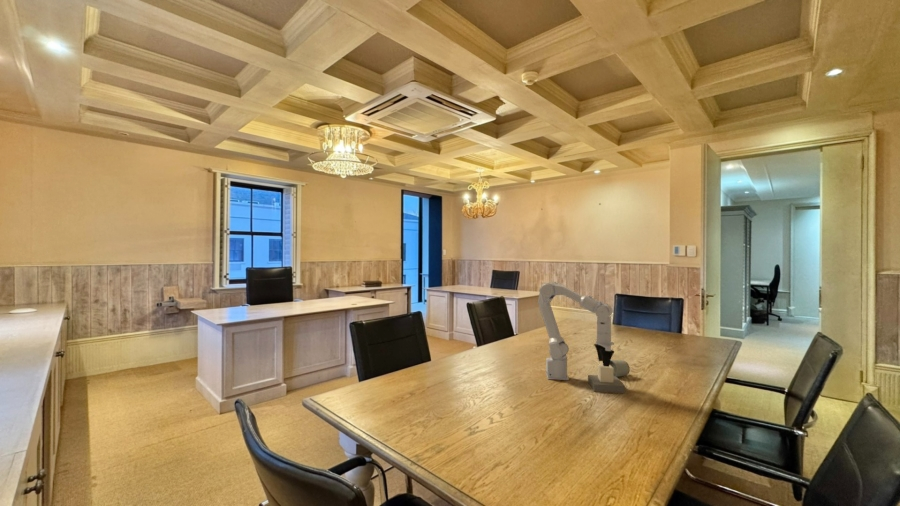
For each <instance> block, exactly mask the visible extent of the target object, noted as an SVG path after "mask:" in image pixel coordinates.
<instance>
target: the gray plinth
mask: <svg viewBox="0 0 900 506" xmlns="http://www.w3.org/2000/svg"><path fill="white" fill-rule="evenodd" d="M588 382H589V383H588ZM587 383H588V384H589V386H590V385H591V386H590V387H591V389H592V390H593V392H596V393H612V394H613V393H614V394H625V393H626V386H625V384H624V383H623V382H622V381H621V379H619V378H618V377H616V376H613V382H601V381H600V380H599V378H598V374H595V375H594V374H587Z"/></svg>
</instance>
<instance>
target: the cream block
mask: <svg viewBox="0 0 900 506" xmlns="http://www.w3.org/2000/svg"><path fill="white" fill-rule="evenodd" d="M597 371H598V372H597V375H598V378H599V380H600V381H601V382H613V367H612V366H611V365H609V367H608V366H603V363H602V364H600V363H599V364H597Z"/></svg>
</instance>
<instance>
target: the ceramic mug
mask: <svg viewBox="0 0 900 506" xmlns="http://www.w3.org/2000/svg"><path fill="white" fill-rule="evenodd" d="M609 365H611V366H612V367H613V376H616V377H617V378H618V377H626V376H627V375H630V372H631V369H630V364H629V363H628V362H627V361H625V360H624V359H623V360H622V359H611V360H610V364H609Z"/></svg>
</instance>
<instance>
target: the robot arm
mask: <svg viewBox="0 0 900 506" xmlns="http://www.w3.org/2000/svg"><path fill="white" fill-rule="evenodd" d="M538 292H539V294H538V301H537V305H538V306H539V310H540V313H541V316H542V318H543V322H544V326H545V328H546V332H547V336H548V338H549V340H548V346H549V349H548V352H549V356H550V357H546V359H545V376H546V378H547V379H548V380H560V381H569V380H570V378H569V376H568V356H567V354H568V353H569V350H570V348H569V345H568V344H567V343H566V342H565V339H564V337H562V335H561V333H560V330H559V326H558V324H557V320H556V317H555V314H554V312H553V309H552V305H551V303H552V301H553V299H554V298H555V297H556V296H565V297H566V298H568V299H571V300H573V301H575V302H577V303H578V304H579V305H580V307H581V308H583V309H585V310H587V311H589V312H591V313H592V314H595V315H596V318H597V319H596V320H597V321H596V341H595V343H594V345H593V346H594V347H595V350H596V353H597V359H598V361H599V362H602V364H603V366H608V367H609V364H610V360H612V357H613V355H614V353H615V351H614V349H612V346H614V345H615V342H613V341H612V313H613V308H612V306H611V305H610V304H608V303H605V302H603V301H602V300H598V299H595V298H593V295H591V294H590V295H582V294H579V293H578V292H575V291H574V290H572V289H570V288H568V287H567V286H565V285H563V284H561V283H558V282H556V281H550V282H544V283H543V284H542V285H541V287H540V288H539V289H538Z"/></svg>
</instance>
